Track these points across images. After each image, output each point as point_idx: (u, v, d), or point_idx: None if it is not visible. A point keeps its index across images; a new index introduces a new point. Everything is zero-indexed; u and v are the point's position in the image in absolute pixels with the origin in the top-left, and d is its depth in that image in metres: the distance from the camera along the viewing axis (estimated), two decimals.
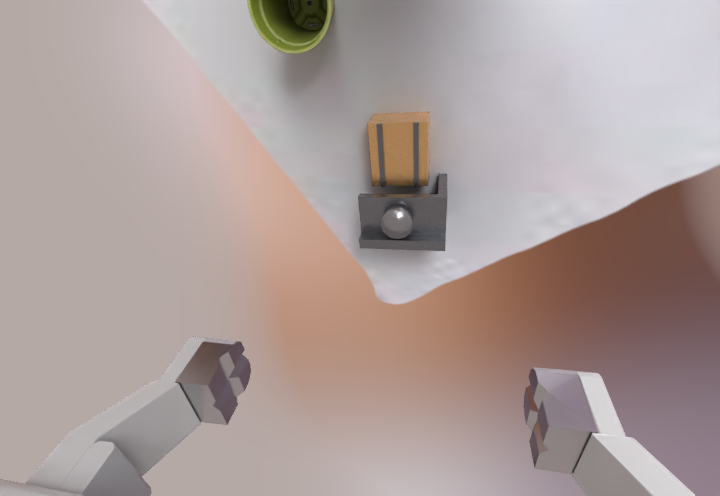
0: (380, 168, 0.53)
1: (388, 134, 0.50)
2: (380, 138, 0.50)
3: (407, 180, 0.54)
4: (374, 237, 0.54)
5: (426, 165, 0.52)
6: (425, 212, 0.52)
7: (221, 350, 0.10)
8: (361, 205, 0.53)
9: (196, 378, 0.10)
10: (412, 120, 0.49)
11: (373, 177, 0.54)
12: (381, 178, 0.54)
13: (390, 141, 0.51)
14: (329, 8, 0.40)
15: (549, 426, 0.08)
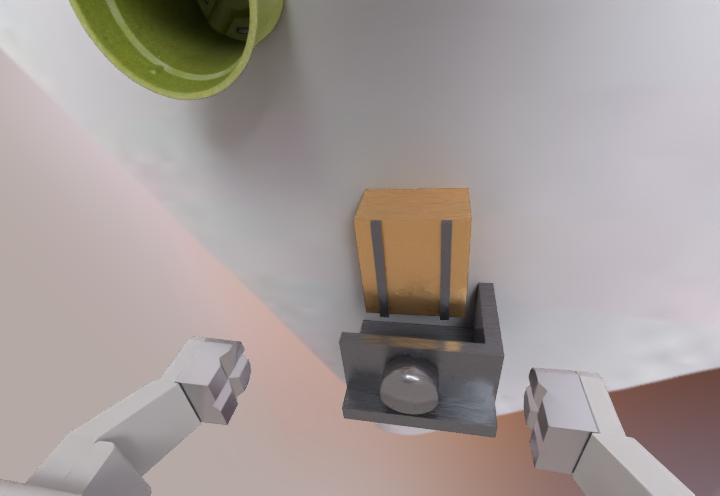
0: (379, 290, 0.29)
1: (393, 238, 0.27)
2: (379, 245, 0.27)
3: (428, 308, 0.30)
4: (369, 405, 0.31)
5: (464, 288, 0.28)
6: (461, 372, 0.29)
7: (221, 350, 0.10)
8: (345, 353, 0.30)
9: (196, 378, 0.10)
10: (439, 215, 0.26)
11: (367, 300, 0.31)
12: (381, 304, 0.30)
13: (397, 249, 0.27)
14: None
15: (549, 426, 0.08)
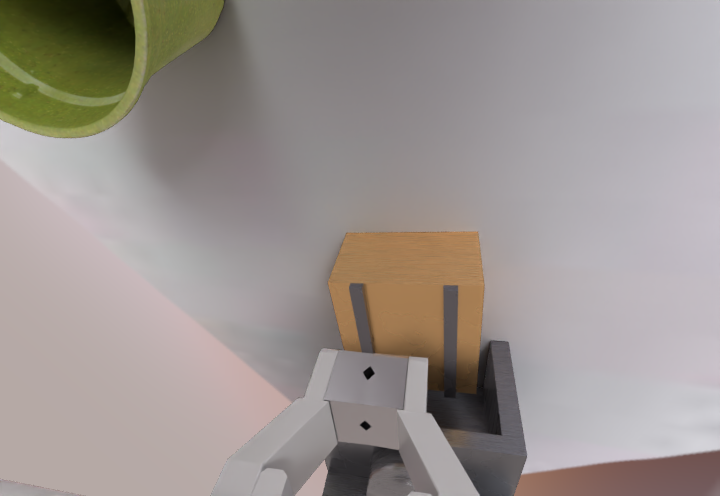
0: None
1: (381, 304, 0.20)
2: (362, 314, 0.20)
3: (429, 382, 0.24)
4: None
5: (474, 363, 0.22)
6: (470, 468, 0.22)
7: (361, 364, 0.10)
8: None
9: (346, 395, 0.09)
10: (440, 276, 0.19)
11: None
12: None
13: (386, 317, 0.21)
14: None
15: (363, 404, 0.09)
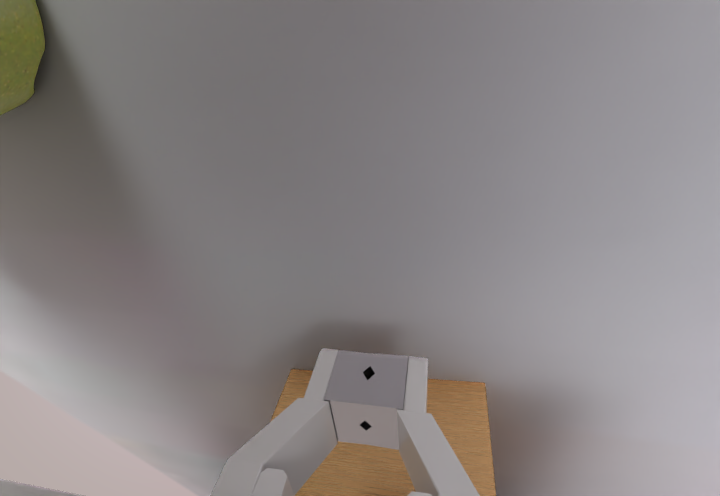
0: None
1: None
2: None
3: None
4: None
5: None
6: None
7: (361, 364, 0.10)
8: None
9: (346, 396, 0.09)
10: None
11: None
12: None
13: None
14: None
15: (363, 404, 0.09)
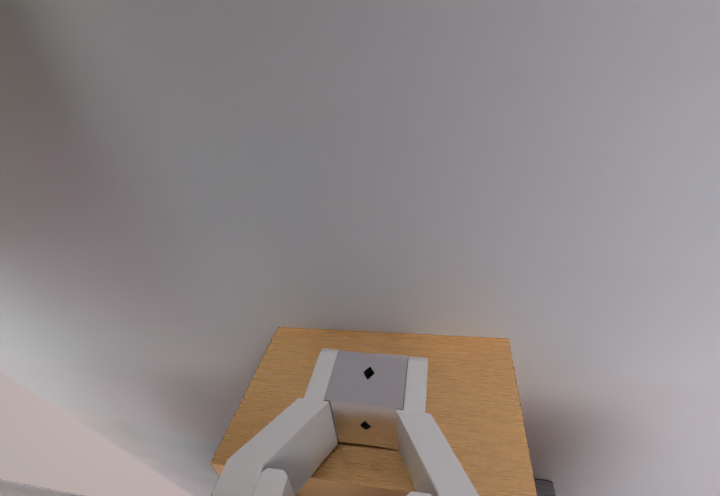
0: None
1: None
2: None
3: None
4: None
5: None
6: None
7: (362, 364, 0.10)
8: None
9: (346, 395, 0.09)
10: None
11: None
12: None
13: None
14: None
15: (362, 404, 0.09)
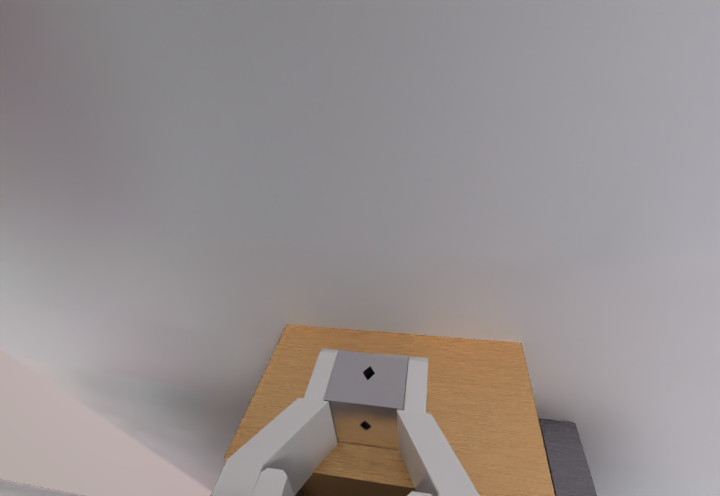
0: None
1: None
2: None
3: None
4: None
5: None
6: None
7: (361, 364, 0.10)
8: None
9: (346, 395, 0.09)
10: None
11: None
12: None
13: None
14: None
15: (363, 404, 0.09)
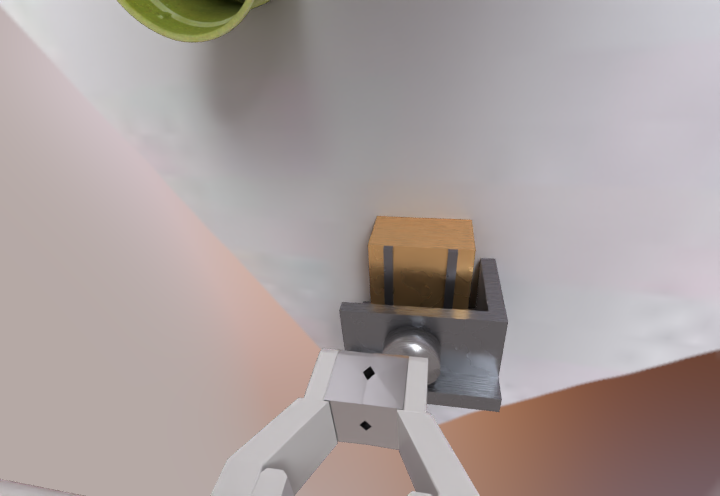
0: None
1: (403, 262, 0.29)
2: (390, 268, 0.29)
3: None
4: None
5: None
6: (463, 342, 0.28)
7: (361, 364, 0.10)
8: (345, 323, 0.29)
9: (346, 395, 0.09)
10: (445, 244, 0.28)
11: None
12: None
13: (405, 273, 0.30)
14: None
15: (363, 404, 0.09)
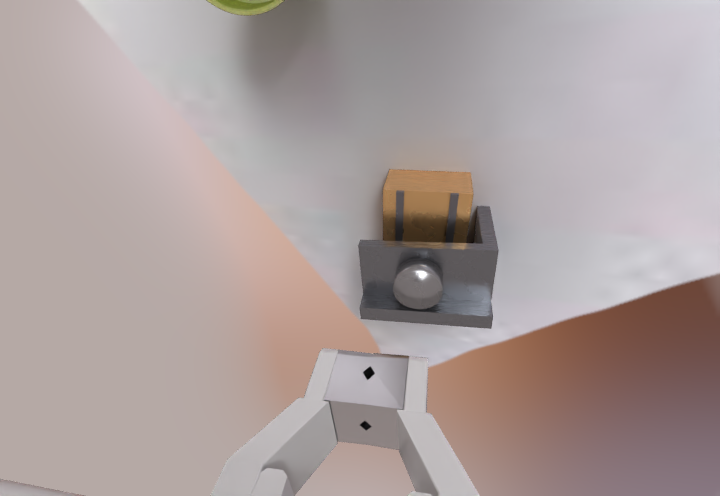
0: None
1: (412, 205, 0.35)
2: (401, 210, 0.35)
3: None
4: (383, 305, 0.36)
5: None
6: (462, 270, 0.34)
7: (361, 364, 0.10)
8: (363, 257, 0.35)
9: (346, 396, 0.09)
10: (448, 189, 0.34)
11: None
12: None
13: (414, 215, 0.35)
14: None
15: (363, 404, 0.09)
